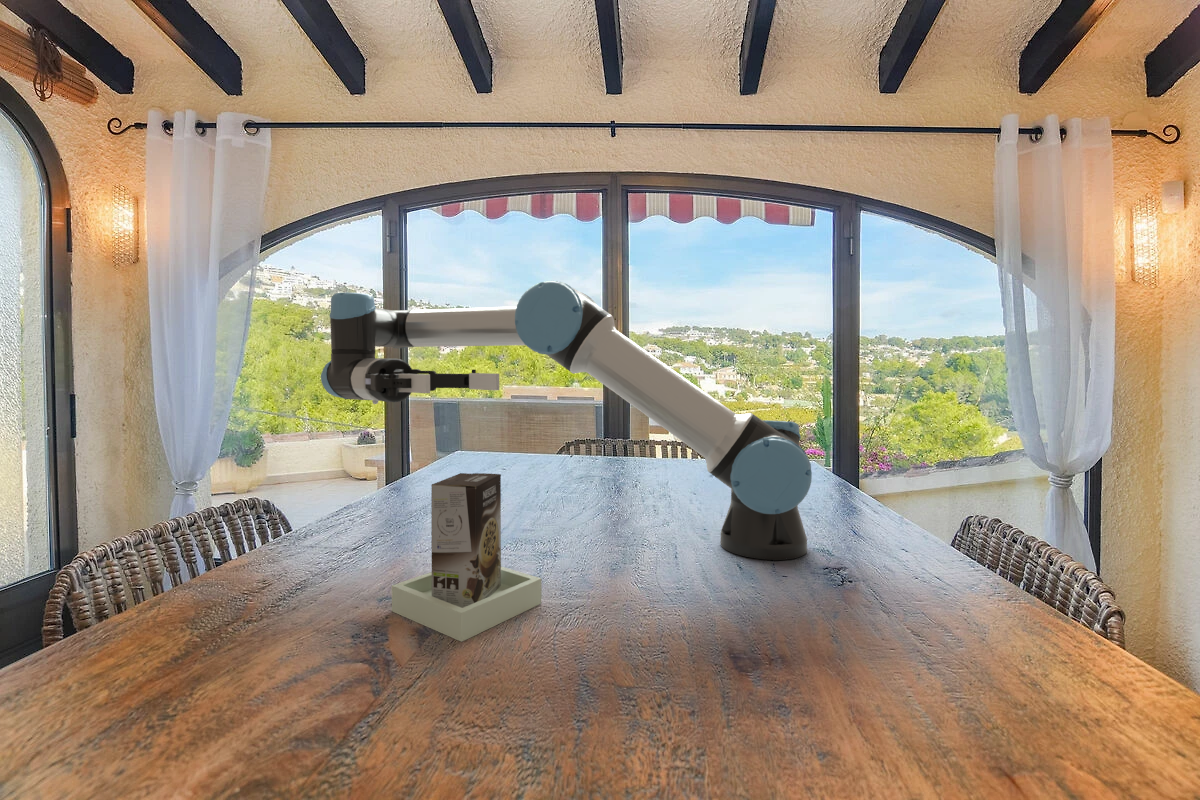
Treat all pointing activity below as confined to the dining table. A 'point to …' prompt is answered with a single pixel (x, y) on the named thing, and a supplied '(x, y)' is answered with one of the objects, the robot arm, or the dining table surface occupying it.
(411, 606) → the tray
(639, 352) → the robot arm
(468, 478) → the coffee box
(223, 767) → the dining table surface
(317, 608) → the dining table surface
